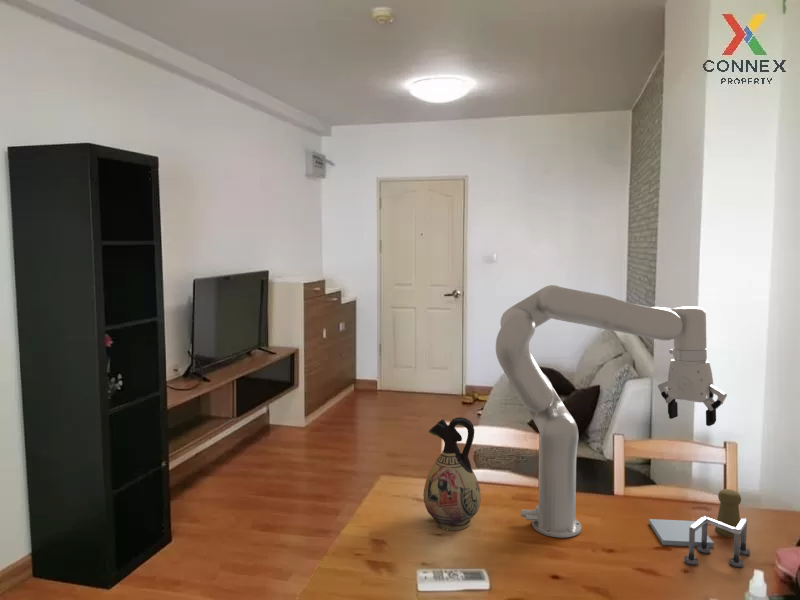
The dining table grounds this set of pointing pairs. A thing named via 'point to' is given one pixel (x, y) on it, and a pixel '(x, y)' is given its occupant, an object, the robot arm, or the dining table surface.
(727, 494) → the cork
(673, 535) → the pad
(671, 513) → the dining table surface
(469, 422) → the ceramic jug
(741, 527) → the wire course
